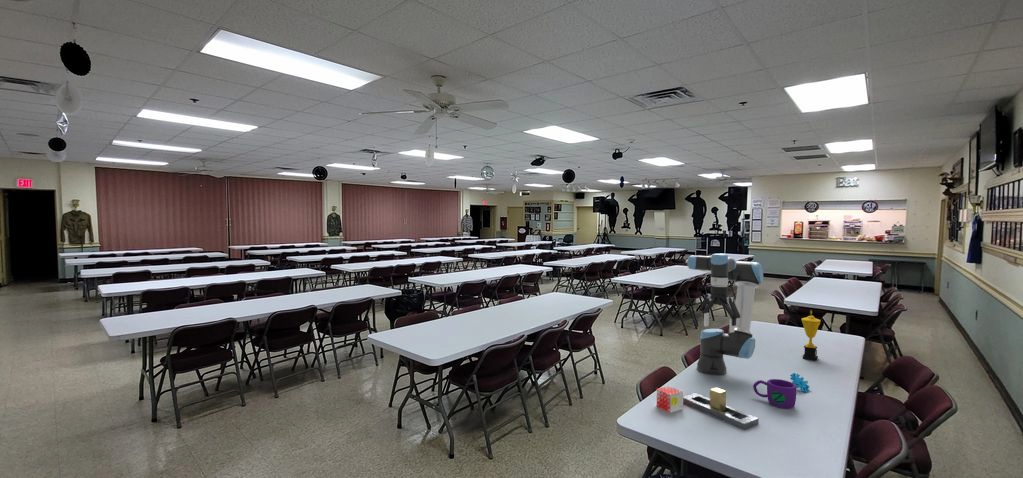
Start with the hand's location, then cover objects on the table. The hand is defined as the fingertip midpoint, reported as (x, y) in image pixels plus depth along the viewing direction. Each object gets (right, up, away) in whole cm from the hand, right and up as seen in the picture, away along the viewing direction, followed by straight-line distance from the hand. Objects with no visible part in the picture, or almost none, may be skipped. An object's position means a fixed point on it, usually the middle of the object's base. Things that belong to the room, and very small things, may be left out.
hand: (718, 329), depth 205 cm
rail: (-11, -32, -21) cm, 40 cm away
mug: (+20, -32, -11) cm, 39 cm away
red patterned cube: (-30, -32, -15) cm, 46 cm away
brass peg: (-11, -32, -21) cm, 40 cm away
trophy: (+83, -30, +54) cm, 103 cm away
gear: (+43, -32, +5) cm, 53 cm away
